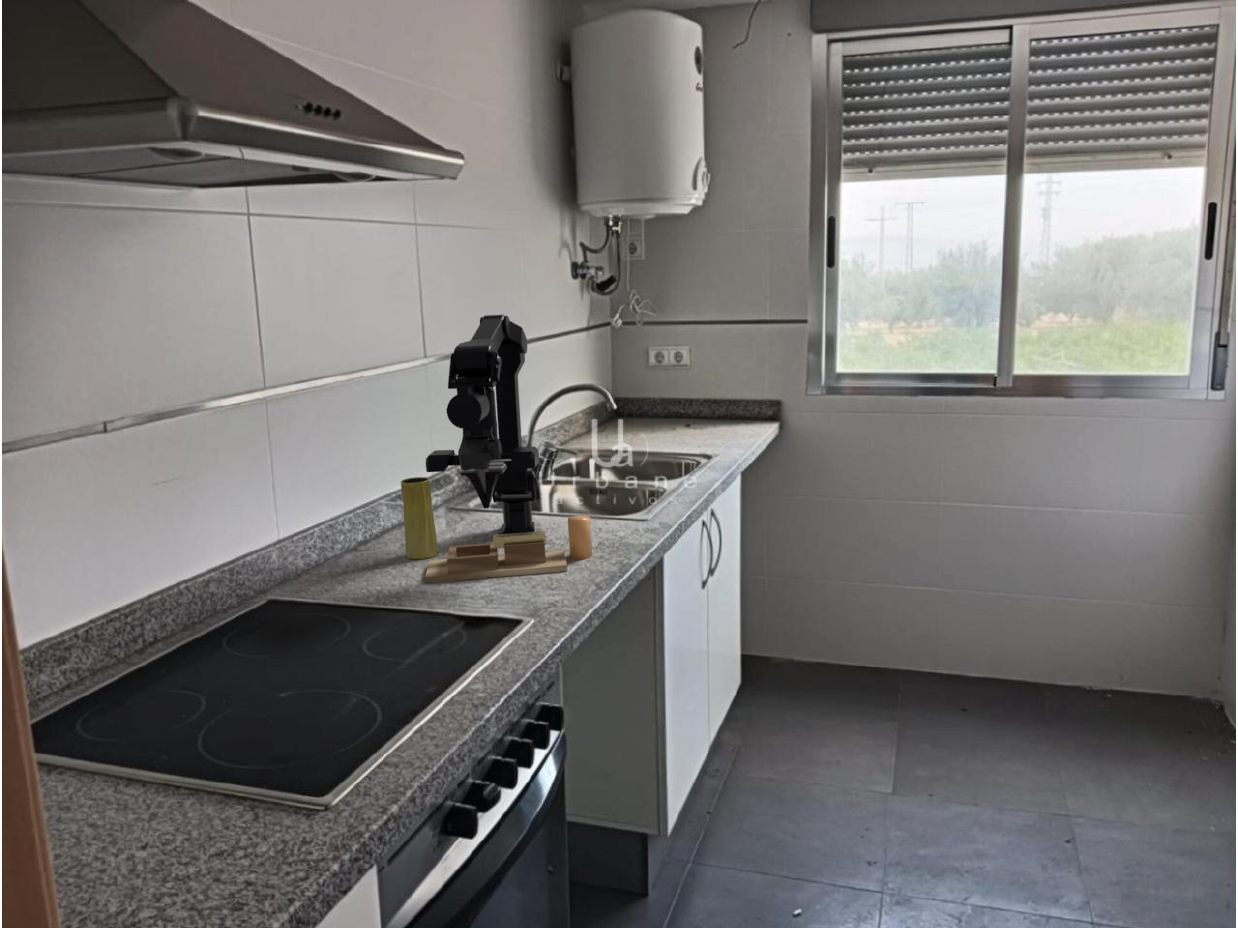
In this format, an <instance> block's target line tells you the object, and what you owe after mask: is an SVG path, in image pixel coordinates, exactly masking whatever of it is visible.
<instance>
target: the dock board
mask: <svg viewBox="0 0 1238 928" xmlns="http://www.w3.org/2000/svg"><path fill="white" fill-rule="evenodd" d="M503 550H504V551H503V552H504V553H502V554H499V549H494V542H488V543H486V542H485V543H475V544H462V545H461V544H459V545H450V546H449V548H448V552H447V558H441V559H439V558H438V559H430V560H429V561H428V566H427V569H426V573H425V577H424V580H425V581H424V582H425V583H427V584H428V583H438V582H439V583H441V582H450V581H462V580H463V581H464V580H474V579H475V580H476V579H486V578H489V579H490V578H500V577H501V578H502V577H512V576H522V575H535V574H546V573H548V574H549V573H561V572H568V564H567V559H566V554H565V549H553V550H552V549H551V550H546V545H545V542H535V543H522V544H510V545H504V548H503Z"/></svg>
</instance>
